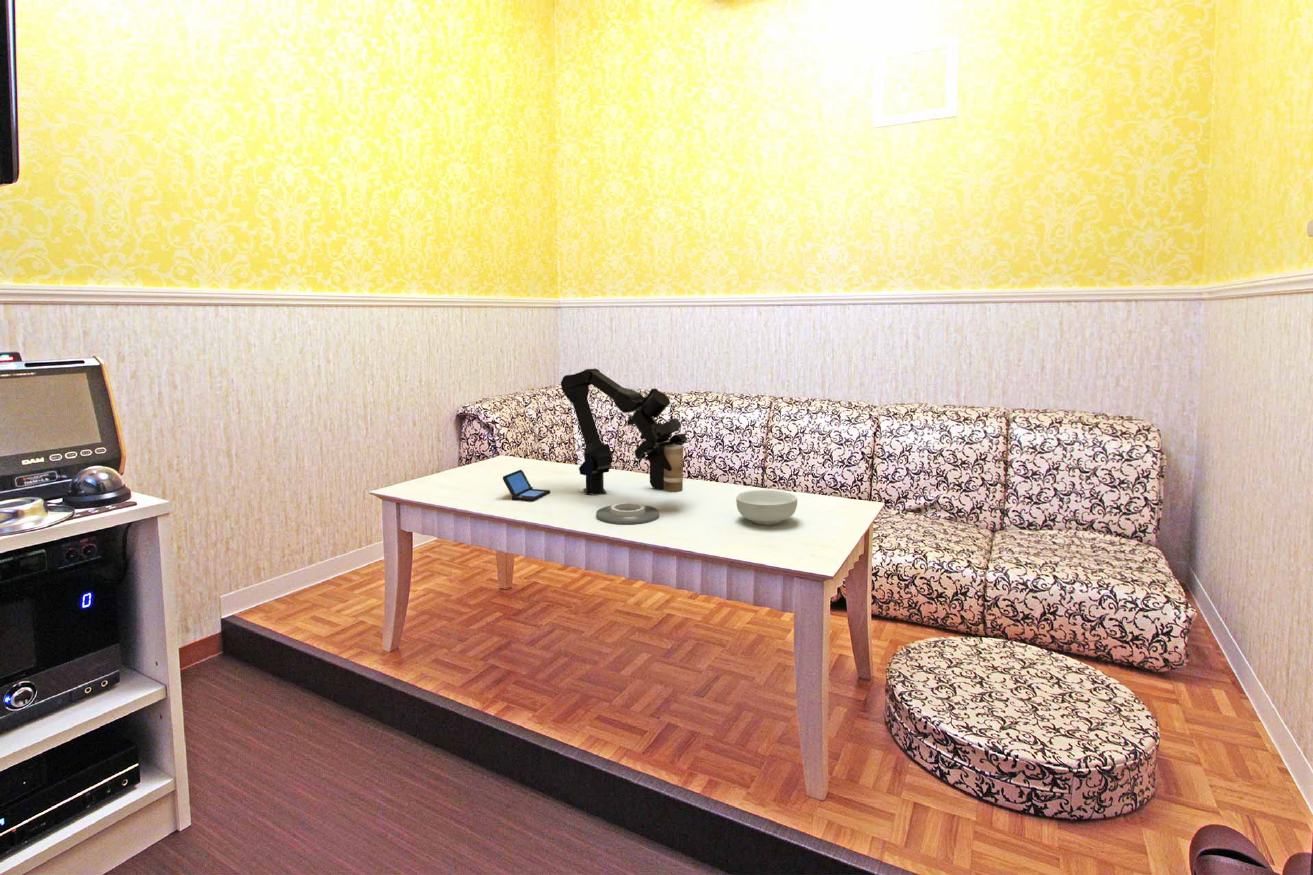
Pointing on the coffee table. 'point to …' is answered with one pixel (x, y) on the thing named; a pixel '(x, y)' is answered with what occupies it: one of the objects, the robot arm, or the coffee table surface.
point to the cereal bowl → (766, 506)
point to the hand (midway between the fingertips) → (677, 468)
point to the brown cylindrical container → (674, 468)
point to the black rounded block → (656, 475)
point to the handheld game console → (522, 487)
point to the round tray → (627, 514)
